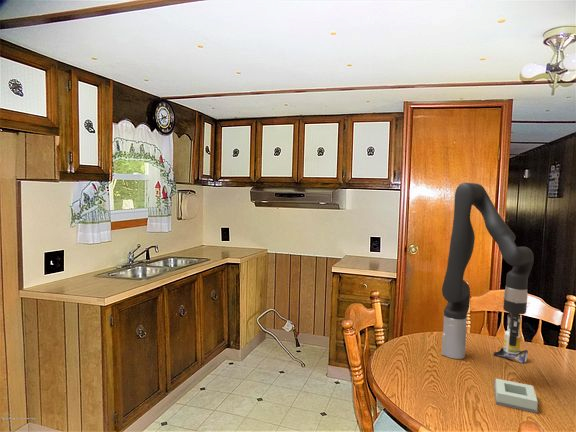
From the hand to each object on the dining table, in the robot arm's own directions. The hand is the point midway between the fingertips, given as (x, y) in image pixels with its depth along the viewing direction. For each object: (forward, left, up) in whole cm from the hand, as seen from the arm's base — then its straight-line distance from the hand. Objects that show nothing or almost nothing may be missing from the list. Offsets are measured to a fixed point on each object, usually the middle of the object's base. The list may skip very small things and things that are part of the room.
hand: (511, 342), depth 148 cm
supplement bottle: (0, 0, -4) cm, 4 cm away
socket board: (0, -15, -14) cm, 20 cm away
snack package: (+1, +23, -15) cm, 27 cm away
